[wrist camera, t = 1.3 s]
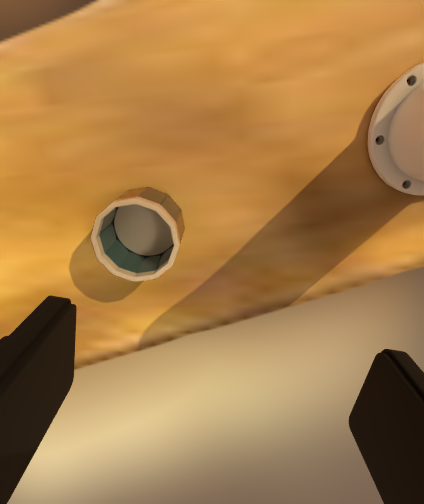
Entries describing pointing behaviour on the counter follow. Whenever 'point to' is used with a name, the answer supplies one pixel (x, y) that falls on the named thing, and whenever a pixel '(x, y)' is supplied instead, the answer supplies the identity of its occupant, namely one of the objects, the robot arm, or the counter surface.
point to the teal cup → (138, 234)
